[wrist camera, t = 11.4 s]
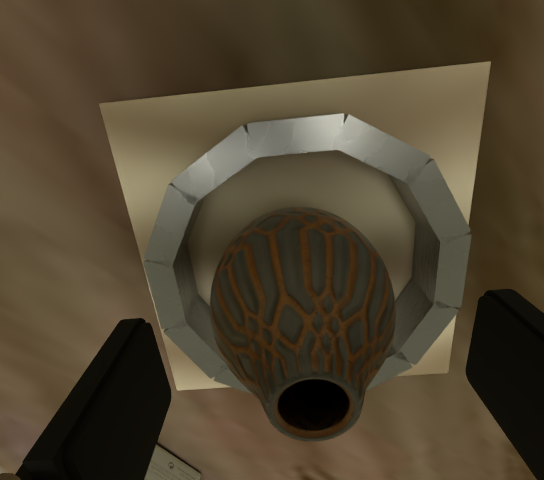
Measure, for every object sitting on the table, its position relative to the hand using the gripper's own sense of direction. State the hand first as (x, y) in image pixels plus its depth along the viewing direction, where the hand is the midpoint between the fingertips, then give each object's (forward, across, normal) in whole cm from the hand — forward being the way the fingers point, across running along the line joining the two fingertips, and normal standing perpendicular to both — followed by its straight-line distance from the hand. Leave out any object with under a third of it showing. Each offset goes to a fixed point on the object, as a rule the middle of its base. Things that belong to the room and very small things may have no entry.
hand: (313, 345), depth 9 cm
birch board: (+8, 0, +1) cm, 8 cm away
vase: (+7, 0, +1) cm, 7 cm away
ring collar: (+7, 0, +1) cm, 7 cm away
